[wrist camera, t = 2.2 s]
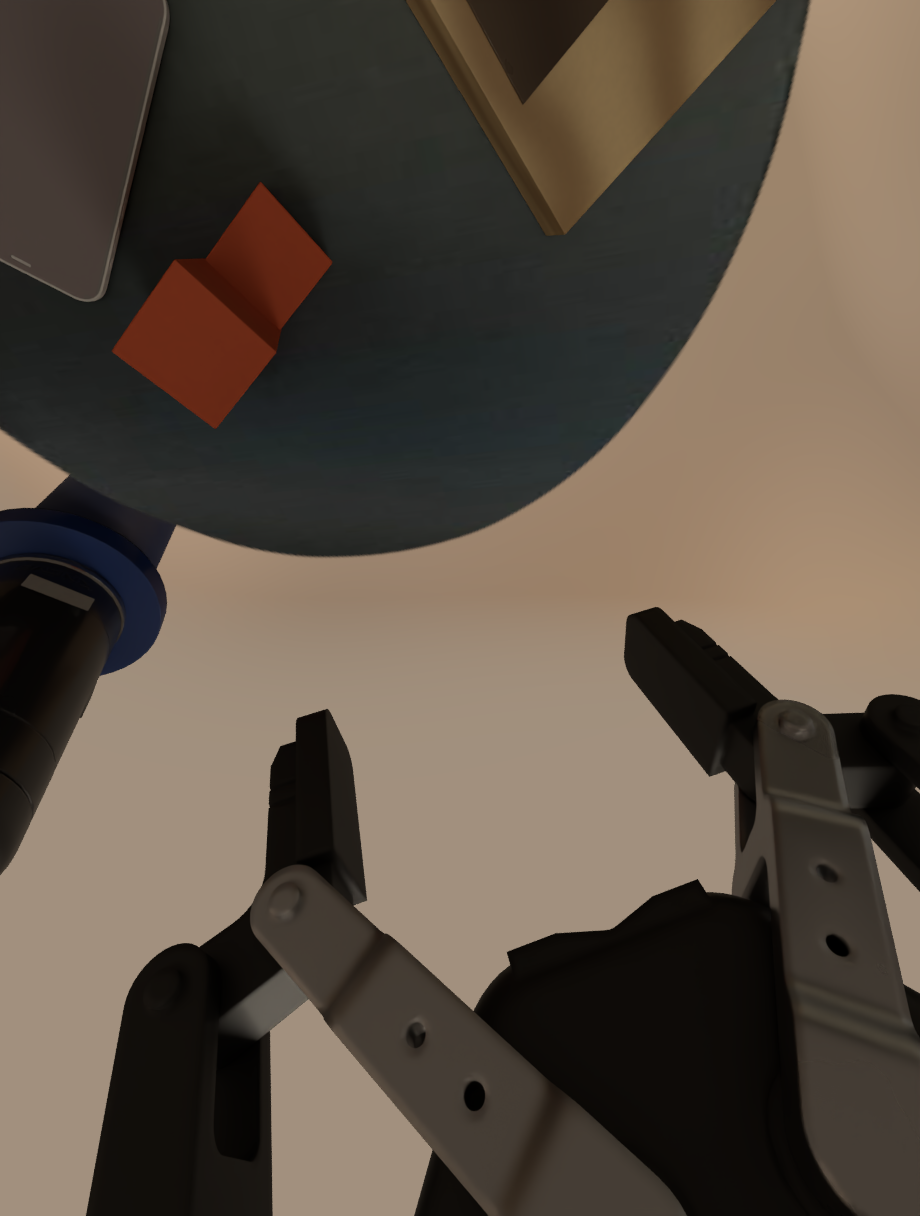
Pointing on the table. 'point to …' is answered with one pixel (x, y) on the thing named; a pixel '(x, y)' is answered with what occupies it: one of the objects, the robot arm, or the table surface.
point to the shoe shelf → (578, 82)
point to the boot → (224, 309)
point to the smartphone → (72, 131)
